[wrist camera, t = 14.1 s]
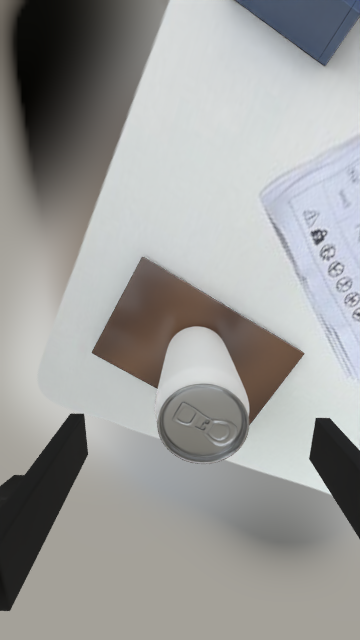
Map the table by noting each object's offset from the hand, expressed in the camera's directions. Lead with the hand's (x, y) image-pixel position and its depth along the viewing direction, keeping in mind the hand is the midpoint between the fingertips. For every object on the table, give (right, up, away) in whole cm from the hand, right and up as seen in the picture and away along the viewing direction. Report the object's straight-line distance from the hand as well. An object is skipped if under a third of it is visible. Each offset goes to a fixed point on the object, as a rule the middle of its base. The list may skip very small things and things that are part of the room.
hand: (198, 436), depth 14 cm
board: (+1, +3, +14) cm, 14 cm away
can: (+1, +3, +13) cm, 13 cm away
